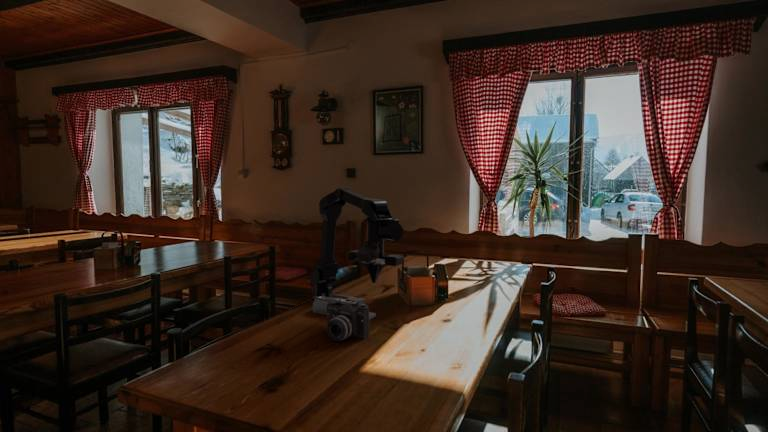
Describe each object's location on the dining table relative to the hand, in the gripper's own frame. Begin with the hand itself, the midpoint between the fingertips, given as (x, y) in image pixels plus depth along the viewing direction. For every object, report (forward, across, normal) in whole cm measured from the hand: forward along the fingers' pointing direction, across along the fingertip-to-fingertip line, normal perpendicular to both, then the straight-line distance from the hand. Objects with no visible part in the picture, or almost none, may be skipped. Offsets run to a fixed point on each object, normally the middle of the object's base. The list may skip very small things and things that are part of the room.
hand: (374, 282), depth 153 cm
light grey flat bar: (+8, -13, -2) cm, 16 cm away
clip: (+11, -6, -2) cm, 12 cm away
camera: (+12, +2, -22) cm, 25 cm away
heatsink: (+12, -14, -2) cm, 18 cm away
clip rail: (+12, -3, -2) cm, 12 cm away
